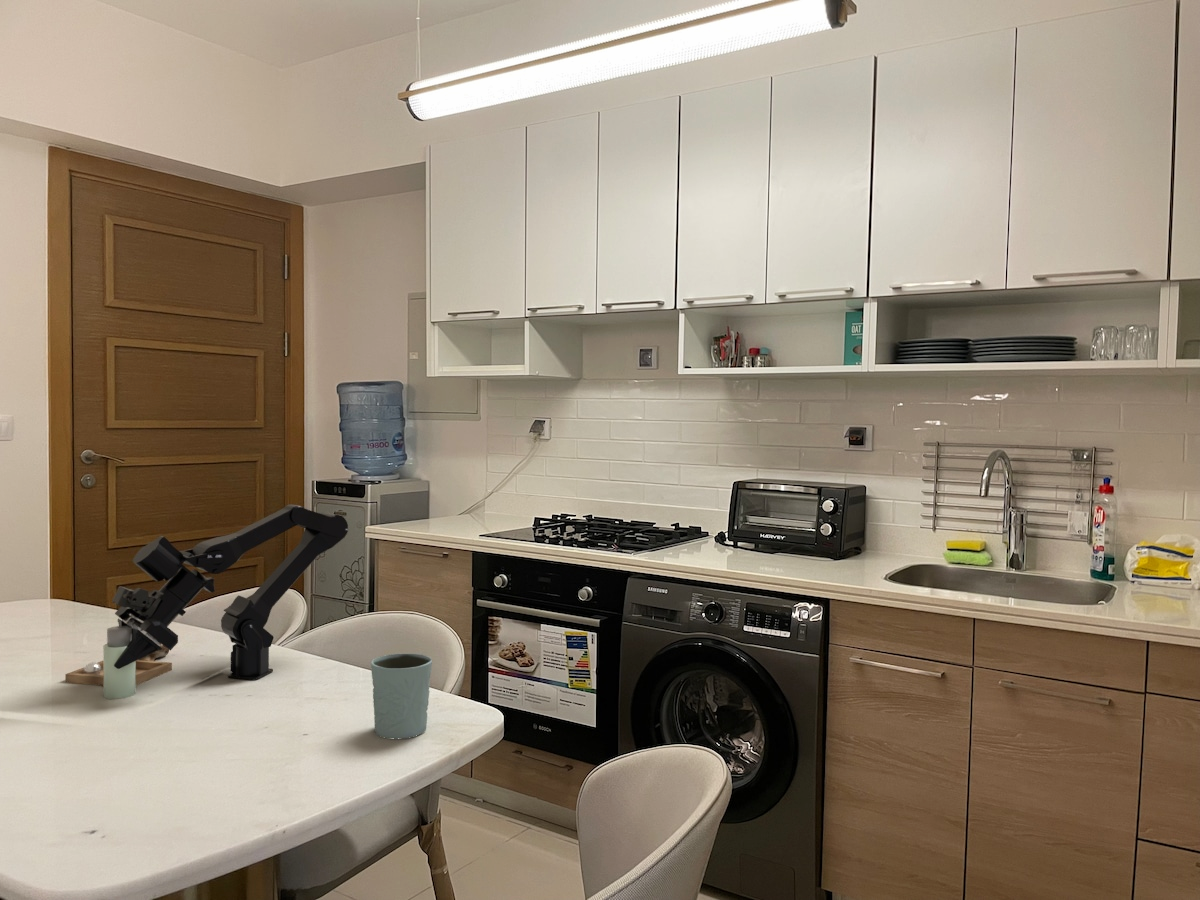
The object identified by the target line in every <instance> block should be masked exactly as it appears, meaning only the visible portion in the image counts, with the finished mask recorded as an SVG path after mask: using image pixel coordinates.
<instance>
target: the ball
mask: <svg viewBox="0 0 1200 900" xmlns="http://www.w3.org/2000/svg"><path fill="white" fill-rule="evenodd" d="M84 667H85V668H84ZM84 667H83V668H84V674H91V675H100V673H101V671H102V668H101V666H100V665H99V664H98V662H96V661H95V662H94V661H93V662H90V663H88V664H86V665H85V666H84Z"/></svg>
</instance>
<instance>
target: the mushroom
mask: <svg viewBox="0 0 1200 900" xmlns="http://www.w3.org/2000/svg"><path fill="white" fill-rule="evenodd" d="M160 647H161V648H162V650H161V651H160V650H158V651H156V652H154V653H152V654H149V655H147V656H145V657H143V658H141V659H138V660H145V661H155V660H156V659H158V658H164V657H166V656H167V655H168V654H170V650H168V649H167V648H165V647H164V646H163V644H161V645H160Z"/></svg>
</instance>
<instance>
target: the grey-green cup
mask: <svg viewBox="0 0 1200 900" xmlns="http://www.w3.org/2000/svg"><path fill="white" fill-rule="evenodd" d="M432 665H433V659H432V658H431V657H430V656H427V655H424V654H419V653H406V652H405V653H393V654H386V655H381V656H379V657H376V658H373V659H371V661H370V668H371V677H372V683H371V684H372V686H373V688H372V699H373V701H372V702H373V703H372V704H373V714H374V717H373V719H374V733H375V732H376V733H375V734H376V735H377V736H378V735H379V736H378V737H380V736H381V737H380V738H382V737H385V738H384V739H386V738H394V739H393V740H399V739H398V738H407V739H410V738H409V737H413V736H416V735H419V734H421V733H423V732H424V731H425V732H426V730H427V723H428V709H429V708H428V707H429V698H430V682H431V675H432ZM425 732H424V733H425ZM424 733H423V734H424ZM421 735H422V734H421ZM419 736H420V735H419ZM416 737H417V736H416ZM413 738H414V737H413Z"/></svg>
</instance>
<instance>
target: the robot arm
mask: <svg viewBox="0 0 1200 900" xmlns="http://www.w3.org/2000/svg"><path fill="white" fill-rule="evenodd" d="M296 526H298V527H301V528H302V529H304V530H303V532H302V533H303V534H302V537H301V539H300V542H299V543H298V544H297V546H295V547H294V549H293V550H292V551H291V552H290V553H289V554H288V555H287V556H286V558H285V559H284V560H283V561H282V562H281V563H280V564H279V565H278V566H277V567H276V569H274V571H273V572H272V573H271V574H270V575H269V576H268V578H266V580H264V582H263V583H262V584H261V585H260V586H259V587H258V589H256V591H254V592H253V593H252V594H251V595H248V596H247V597H244V596H242V595H237V596H236V597H235V599H234V600H233V601H232V603H231V604H230V605H229V606H227V608H224V609H223V612H225V613H224V614H223V615H222V617H221V619H220V622H221V623H220V625H221V627H220V628H221V630H222V632H223V633H224V634H225V635H227V636H228V637H229V640H230V642H231V643H233V645H232V651H231V652H230V673H229V674H227V678H230V679H231V678H232V679H244V680H252V681H253V680H258V679H261V678H263V677H265V676H267V675H269V674H271V673H273V672H274V669H273V668H269V667H270V665H269V664H270V663H269V662H270V648H271V646H272V644H273V641H274V635H272V633H270V632H269V631H268V630H266V629H265V626H266V624H267V623H268V620H269V618H270V614H271V612H272V609H273V607H274V606H275V605H276V604H277V603H278V601H280V600H281V598H282V597H283V596H284V595H285V594H286V593H287V592H288V590H289V589H290V588H291V587H292V586H293V585H294V584H295V582H296V581H297V580H298V579H299V578H300V577H301V576H302V574H303V573H304V572H305V571H306V570H307V569H308V568H309V567H310V566H311V564H313V562H314V561H315V560H316V559H317V558H318V556H320V555H321V554H323V553H325V552H327V551H329V550H331V549H332V548H334V547H336V545H338V544H339V543H340V542H341V541H343V539H345V537H346V536H347V535H348V533H349V525H348V521H347V520H346V518H345V517H343V516H342V515H339V514H334V513H329V512H325V511H324V512H316V511H313V510H310V509H307V508H305V507H304V506H302V505H297V504H291V503H290V504H286V505H285V506H284V507H283V508H281V509H279V510H277V511H275V512H274V513H272V514H270V515H267V516H266V517H263V518H261V519H260V520H257V521H255V522H253V523H252V524H250V525H248V526H246V527H244V528H242V529H240V530H238V531H236V532H233V533H230V534H226V535H222V536H217V537H214V538H210V539H207V540H203V541H201V542H199V543H197V544H196V545H195V546H194V547H193V548H189V549H185V550H181V551H180V550H178V549H177V548H176V547H175V546H174V545H173V544H171V542H170V540H169V539H168V538H166V537H165V536H162V535H159V536H158V537H156V539H154V540H153V541H152V540H151V542H149V543H147V544H146V545H145V546H141V548H140V549H138V551H137V553H136V554H135V555H134V557H133V559H132V563H133V564H135V565H136V566H137V567H138V568H140V569H141V570H142V571H143V572H145V573H146V574H147V575H148V576H149V577H150V578H151V579H153V580H154V581H155V582H160V581H164V582H166V583H164V585H163V586H161V587H160V589H159V590H157V589H153V590H151V591H149V590H147V589H143V588H142V587H141V588H140V587H137V588H135V589H131V588H127V587H125V586H121V585H119V586H118V588H117V590H116V592H115V595H114V596H113V599H112V601H111V603H114V604H116V605H117V606H119V608H118V609H117V610H116V611H115V612H114V615H115V616H116V617H118V618H117V623H118V626H131V627H132V641H131V642H130V643H129V645H128V646H127V647H126V649H125V650H124V651H123V653H122V654H121V655H120V657H119V658H118V660H117V661H116V663H115V664H114V667H116V668H117V669H120V668H122V667H124V666H126V665H128V664H130V663H132V662H134V661H136V660H138V659H141V658H143V657H145V656H147V655H149V654H152V653H154V652H156V651H158V650H160V651H161V650H162V648H161V647H160V645H161V644H163V646H164V647H165V648H167V649H168V650H169V652H170V651H172V650H173V648H174V647H176V646H177V644H178V643H179V635H178V634H177V633H176V632H174V631H173V630H172V629H171V628H170V627H169V626H170V624H172V622H173V621H174V620H175V619H176V618H177V617H178V616H182V617H183V616H184V615H185V614H186V613H187V611H185V608H186V607H187V606H188V605H189V604H190V603H191V602H192V601H193V599H195V598H196V596H197V595H198V594H200V593H201V591H202V590H205V591H206V592H209V593H212V594H214V593H215V590H216V589H215V584H214V583H215V578H213V577H211V576H208V577H206V576H205V575H204V574H202V572H200V571H199V570H201V571H204V572H206V573H209V574H213V575H218V574H221V573H224V572H225V571H226V570H228V569H229V568H231V567H232V566H233V565H234V564H236V563H237V562H239V560H240V559H241V558H242V556H243V555H245V554H246V553H247V552H248V551H250V550H252V549H255V547H258V546H260V545H261V544H263V543H266V542H267V541H269V540H271V539H273V538H275V537H277V536H279V535H280V534H283V533H285V532H287V531H289V530H290V529H292V528H295V527H296ZM184 564H186V565H188V566H192V567H194V568H197V569H191V570H190V569H188V568H187V567H186V566H185V565H184Z"/></svg>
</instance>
